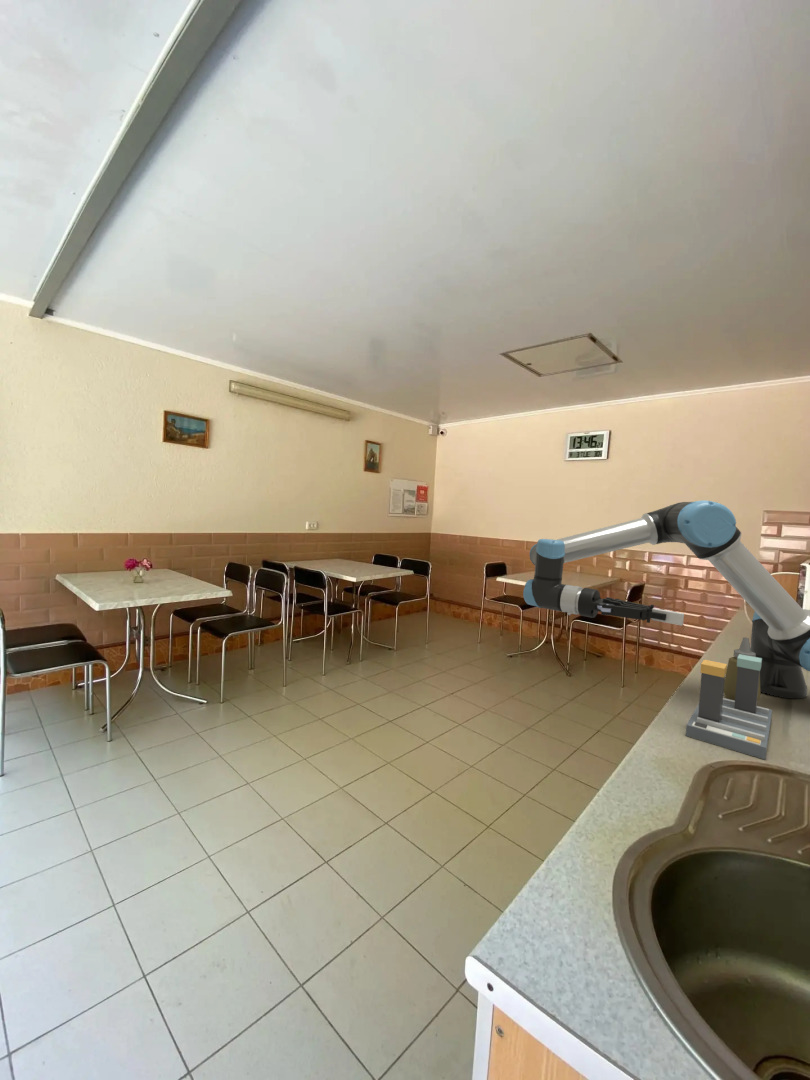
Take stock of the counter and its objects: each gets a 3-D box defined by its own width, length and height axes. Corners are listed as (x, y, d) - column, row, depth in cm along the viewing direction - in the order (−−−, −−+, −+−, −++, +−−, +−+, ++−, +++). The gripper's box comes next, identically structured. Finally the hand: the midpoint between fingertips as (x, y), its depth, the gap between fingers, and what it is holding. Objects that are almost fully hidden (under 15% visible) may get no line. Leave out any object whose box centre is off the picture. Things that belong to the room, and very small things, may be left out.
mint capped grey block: (734, 705, 113) (739, 654, 112) (757, 711, 110) (761, 658, 109) (733, 711, 109) (737, 658, 109) (756, 717, 107) (760, 662, 106)
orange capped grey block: (699, 713, 107) (704, 659, 107) (722, 719, 104) (727, 664, 104) (696, 719, 104) (701, 663, 103) (719, 726, 101) (724, 668, 100)
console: (703, 702, 121) (704, 689, 120) (771, 719, 112) (772, 705, 111) (685, 735, 102) (686, 720, 102) (765, 759, 93) (766, 743, 92)
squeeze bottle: (754, 703, 122) (760, 636, 120) (763, 714, 114) (769, 644, 113) (718, 696, 125) (723, 632, 124) (725, 708, 118) (730, 639, 117)
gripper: (588, 611, 127) (685, 630, 112) (571, 618, 117) (676, 640, 102) (590, 585, 127) (689, 600, 112) (574, 590, 117) (680, 607, 102)
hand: (682, 619), depth 107 cm, fingers closed
